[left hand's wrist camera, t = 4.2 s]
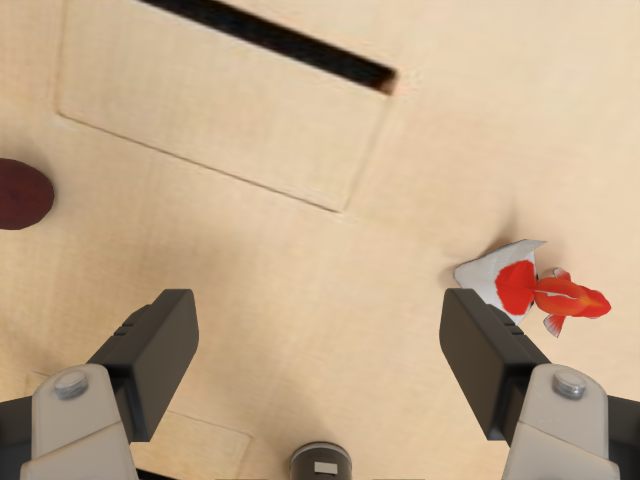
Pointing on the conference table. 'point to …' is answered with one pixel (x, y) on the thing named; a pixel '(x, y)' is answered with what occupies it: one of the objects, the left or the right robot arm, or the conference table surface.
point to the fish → (528, 286)
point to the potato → (22, 195)
